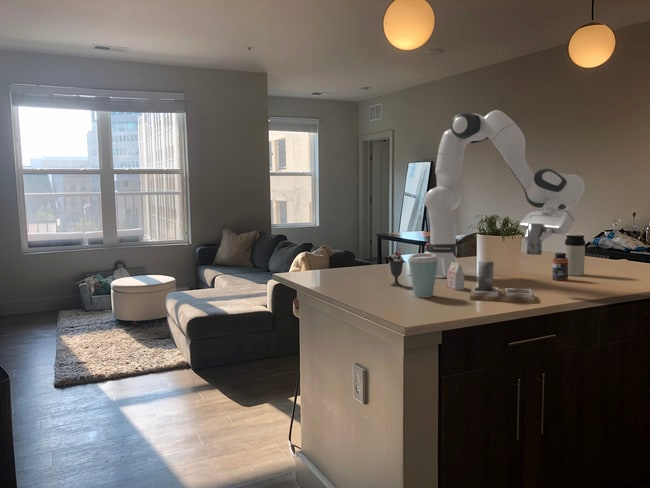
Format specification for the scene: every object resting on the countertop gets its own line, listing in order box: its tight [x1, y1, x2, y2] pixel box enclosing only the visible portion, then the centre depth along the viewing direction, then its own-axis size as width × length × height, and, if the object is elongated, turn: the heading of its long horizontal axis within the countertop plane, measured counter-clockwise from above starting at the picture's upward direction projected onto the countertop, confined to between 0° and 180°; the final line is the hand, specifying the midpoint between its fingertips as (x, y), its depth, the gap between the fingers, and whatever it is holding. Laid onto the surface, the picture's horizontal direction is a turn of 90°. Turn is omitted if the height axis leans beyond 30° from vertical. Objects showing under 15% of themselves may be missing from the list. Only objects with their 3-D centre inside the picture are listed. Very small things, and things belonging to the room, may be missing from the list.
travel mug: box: [564, 232, 586, 277], centre depth 229 cm, size 8×8×18 cm
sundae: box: [387, 247, 405, 287], centre depth 209 cm, size 7×7×15 cm
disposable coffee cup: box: [407, 252, 438, 298], centre depth 188 cm, size 11×11×15 cm
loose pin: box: [526, 223, 543, 256], centre depth 190 cm, size 5×5×11 cm
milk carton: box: [446, 262, 465, 291], centre depth 202 cm, size 4×7×10 cm, turn 14°
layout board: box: [469, 260, 536, 304], centre depth 183 cm, size 21×12×12 cm, turn 71°
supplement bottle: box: [552, 251, 569, 282], centre depth 217 cm, size 6×6×11 cm
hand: (533, 239), depth 190 cm, fingers closed on loose pin, 5 cm apart
